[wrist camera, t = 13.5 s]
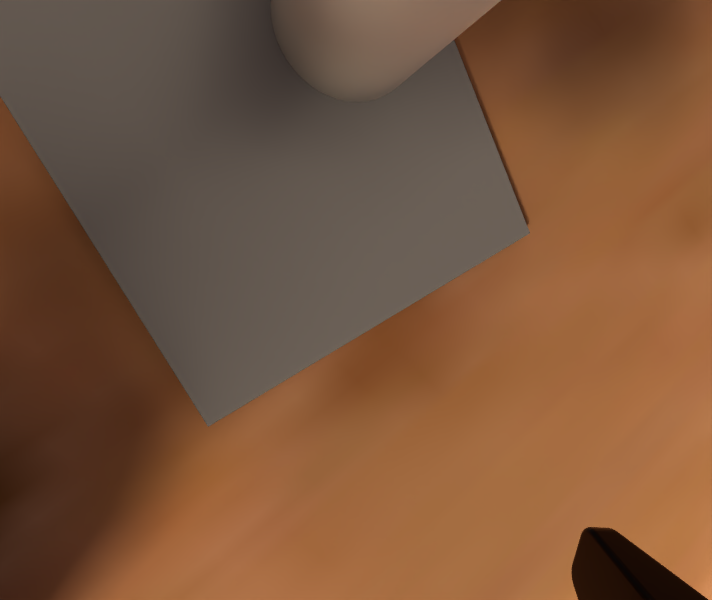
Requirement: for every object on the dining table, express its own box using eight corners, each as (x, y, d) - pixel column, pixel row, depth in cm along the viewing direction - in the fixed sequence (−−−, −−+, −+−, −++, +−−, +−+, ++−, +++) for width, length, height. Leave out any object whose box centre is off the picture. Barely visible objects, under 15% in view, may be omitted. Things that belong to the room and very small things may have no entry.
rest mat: (207, 421, 18) (208, 426, 18) (-143, -138, 14) (-158, -155, 13) (521, 233, 22) (529, 232, 22) (327, -253, 18) (332, -270, 17)
